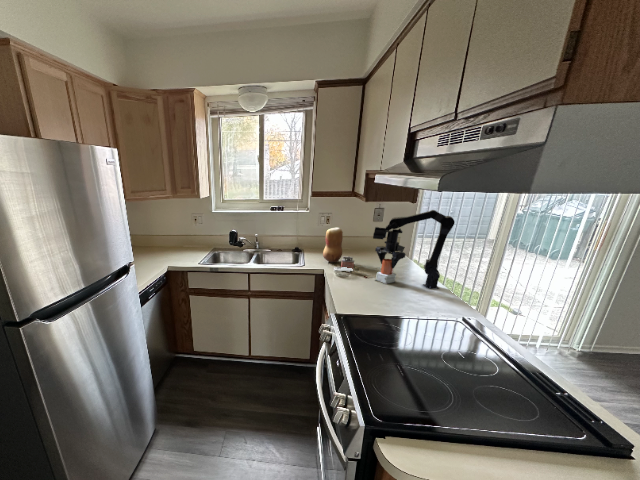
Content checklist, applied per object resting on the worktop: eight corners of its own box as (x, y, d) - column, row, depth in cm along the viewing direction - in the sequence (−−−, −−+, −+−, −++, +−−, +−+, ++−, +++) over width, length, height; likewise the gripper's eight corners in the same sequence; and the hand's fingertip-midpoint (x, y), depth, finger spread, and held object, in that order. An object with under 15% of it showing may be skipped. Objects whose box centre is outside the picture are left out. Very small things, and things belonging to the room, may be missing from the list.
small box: (375, 280, 195) (376, 272, 193) (384, 278, 198) (386, 270, 196) (385, 284, 188) (386, 275, 186) (395, 282, 191) (396, 273, 189)
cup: (394, 274, 188) (396, 261, 185) (382, 274, 188) (385, 261, 185) (389, 271, 194) (392, 258, 191) (379, 271, 194) (381, 258, 191)
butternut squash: (319, 260, 238) (322, 226, 229) (336, 259, 241) (339, 225, 231) (327, 265, 226) (331, 229, 216) (345, 264, 228) (349, 229, 218)
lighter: (352, 270, 213) (354, 256, 209) (353, 272, 210) (355, 257, 206) (340, 270, 215) (342, 255, 211) (340, 271, 212) (342, 256, 208)
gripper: (415, 242, 178) (410, 269, 183) (392, 236, 194) (387, 261, 200) (399, 243, 175) (394, 271, 181) (376, 237, 191) (372, 262, 197)
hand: (387, 266), depth 190 cm, fingers open, 9 cm apart
